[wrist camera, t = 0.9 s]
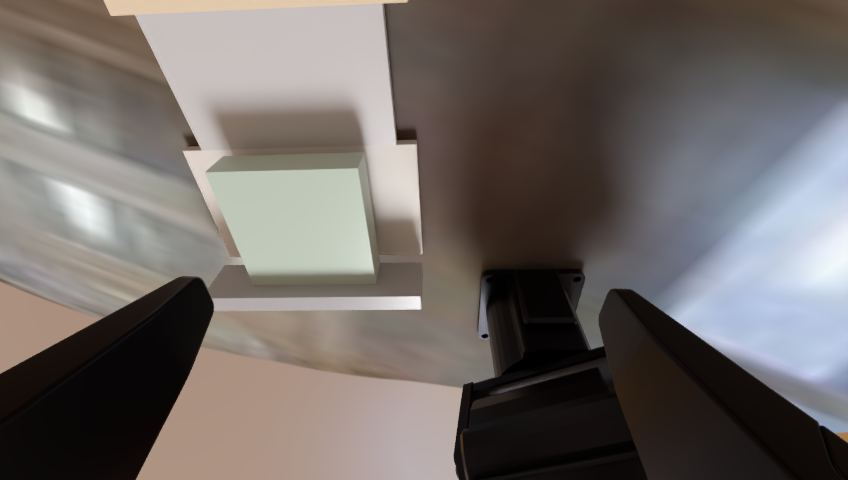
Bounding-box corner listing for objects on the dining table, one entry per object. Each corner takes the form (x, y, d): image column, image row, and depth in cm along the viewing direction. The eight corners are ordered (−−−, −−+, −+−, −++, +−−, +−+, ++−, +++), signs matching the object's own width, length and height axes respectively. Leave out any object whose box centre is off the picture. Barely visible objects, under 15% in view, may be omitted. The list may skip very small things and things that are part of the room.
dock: (422, 248, 23) (420, 283, 20) (234, 251, 24) (210, 285, 21) (369, -752, 8) (334, -1123, 5) (-172, -679, 8) (-454, -978, 6)
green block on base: (423, 266, 23) (421, 309, 20) (236, 269, 24) (208, 311, 21) (416, 144, 18) (412, 177, 15) (182, 150, 19) (137, 184, 16)
